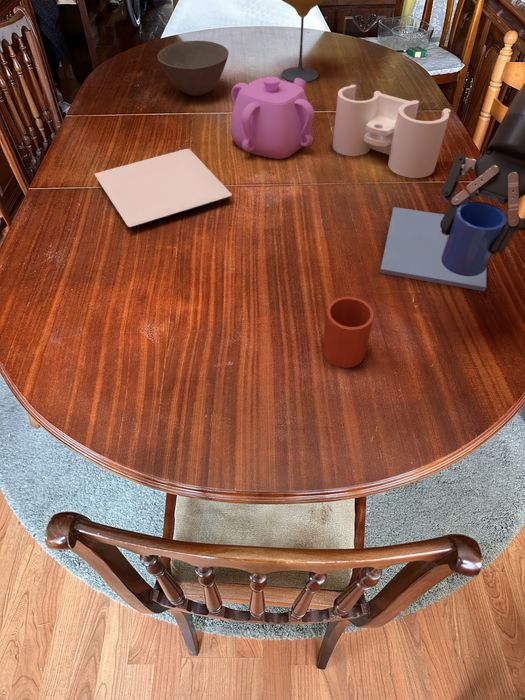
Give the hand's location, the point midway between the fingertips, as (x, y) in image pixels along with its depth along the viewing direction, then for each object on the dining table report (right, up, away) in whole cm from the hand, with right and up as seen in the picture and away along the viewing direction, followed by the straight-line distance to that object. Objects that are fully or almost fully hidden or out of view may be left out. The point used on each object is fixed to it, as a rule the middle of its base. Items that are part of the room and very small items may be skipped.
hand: (468, 243), depth 69 cm
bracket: (-1, +30, +48) cm, 56 cm away
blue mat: (+4, +4, +26) cm, 26 cm away
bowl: (-47, +57, +72) cm, 103 cm away
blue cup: (+1, -2, +4) cm, 5 cm away
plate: (-50, +19, +39) cm, 66 cm away
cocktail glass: (-17, +66, +79) cm, 104 cm away
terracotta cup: (-16, -15, +9) cm, 23 cm away
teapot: (-25, +37, +54) cm, 70 cm away
